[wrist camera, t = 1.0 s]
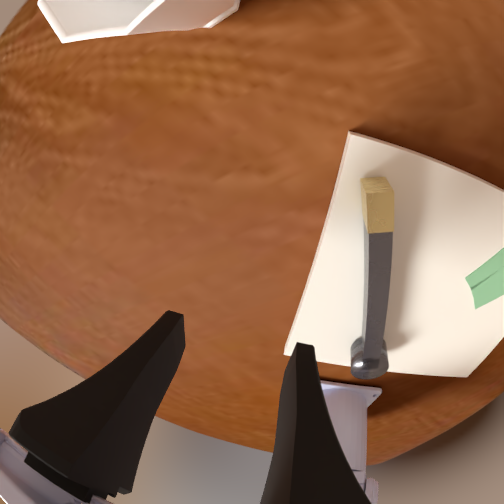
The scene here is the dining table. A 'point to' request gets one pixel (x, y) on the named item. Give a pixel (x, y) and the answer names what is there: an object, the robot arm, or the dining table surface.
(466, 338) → the board
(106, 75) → the dining table surface
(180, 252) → the dining table surface
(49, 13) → the cup
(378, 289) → the lever
